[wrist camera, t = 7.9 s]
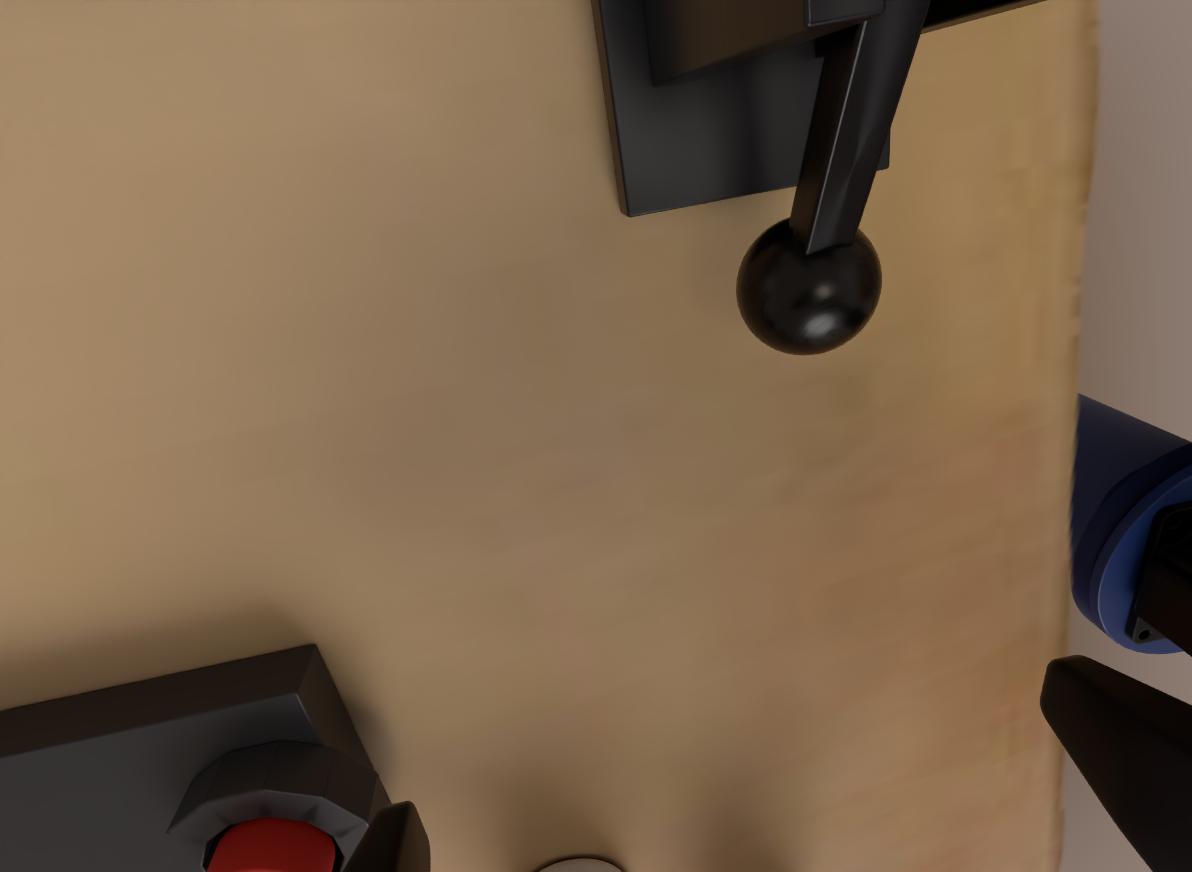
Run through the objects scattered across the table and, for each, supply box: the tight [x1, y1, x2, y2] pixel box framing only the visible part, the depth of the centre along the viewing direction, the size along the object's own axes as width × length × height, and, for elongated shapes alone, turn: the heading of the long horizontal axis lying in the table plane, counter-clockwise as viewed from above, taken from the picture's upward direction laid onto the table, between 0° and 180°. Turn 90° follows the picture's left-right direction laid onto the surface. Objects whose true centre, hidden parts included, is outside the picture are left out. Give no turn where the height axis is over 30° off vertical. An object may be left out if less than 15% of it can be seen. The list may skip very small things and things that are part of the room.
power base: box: [0, 645, 391, 872], centre depth 22 cm, size 13×10×4 cm
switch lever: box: [736, 0, 931, 355], centre depth 12 cm, size 11×3×3 cm
